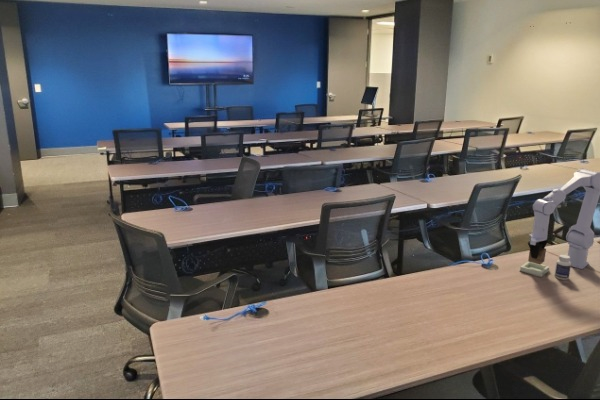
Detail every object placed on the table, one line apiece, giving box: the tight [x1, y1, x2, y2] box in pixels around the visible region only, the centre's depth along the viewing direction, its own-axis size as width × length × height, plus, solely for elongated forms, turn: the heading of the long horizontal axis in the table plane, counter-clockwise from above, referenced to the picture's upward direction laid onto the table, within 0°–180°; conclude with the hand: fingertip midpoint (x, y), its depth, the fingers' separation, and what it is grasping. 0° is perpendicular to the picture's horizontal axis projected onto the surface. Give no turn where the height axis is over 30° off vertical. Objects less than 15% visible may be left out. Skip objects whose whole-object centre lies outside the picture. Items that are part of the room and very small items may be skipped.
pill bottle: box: [554, 254, 572, 281], centre depth 194 cm, size 5×5×10 cm
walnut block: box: [527, 247, 547, 265], centre depth 199 cm, size 5×5×6 cm
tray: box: [519, 261, 550, 278], centre depth 201 cm, size 9×9×2 cm
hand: (536, 256), depth 200 cm, fingers closed on walnut block, 5 cm apart
